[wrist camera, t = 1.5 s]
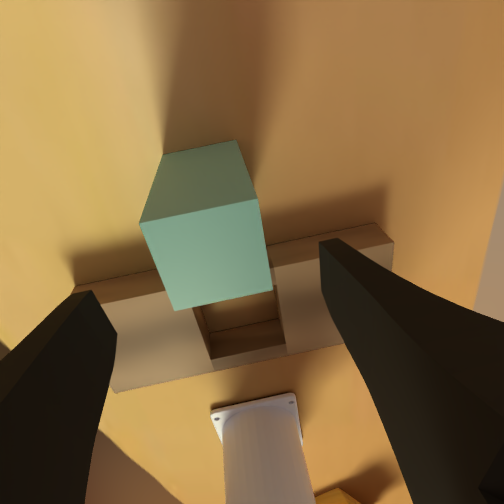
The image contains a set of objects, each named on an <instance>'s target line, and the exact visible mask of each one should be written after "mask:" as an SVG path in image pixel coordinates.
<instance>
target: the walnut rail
mask: <svg viewBox="0 0 504 504" xmlns="http://www.w3.org/2000/svg"><path fill="white" fill-rule="evenodd" d="M333 238H339V239H340V240H342V241H344V242H345V243H347V244H348V245H350V246H351V247H353V248H354V249H356V250H357V251H359V252H360V253H362V254H363V255H365V256H366V257H368V258H370V259H371V260H373V261H374V262H376V263H378V264H379V265H381V266H383V267H384V268H386V269H388V270H389V271H391V272H392V261H393V250H394V242H393V240H392V239H391V238H390V237H389V236H388V235H387V234H386V233H385V232H384V231H383V230H382V229H381V228H380V227H379V226H378V225H377V224H376V223H373V224H368V225H363V226H359V227H354V228H349V229H344V230H340V231H335V232H330V233H326V234H321V235H316V236H311V237H307V238H302V239H297V240H292V241H288V242H283V243H278V244H273V245H269V246H266V250H267V256H268V262H269V268H270V274H271V280H272V286H273V285H274V291H275V298H276V304H277V310H278V316H279V319H275V320H270V321H265V322H261V323H256V324H251V325H247V326H242V327H238V328H233V329H228V330H224V331H219V332H214V333H210V332H209V330H208V327H207V324H206V321H205V318H204V315H203V312H202V309H201V306H196V307H192V308H187V309H182V310H178V311H174V309H173V306H172V304H171V301H170V299H169V297H168V294H167V292H166V289H165V287H164V284H163V282H162V279H161V277H160V274H159V272H158V269H155V270H150V271H145V272H141V273H136V274H131V275H126V276H122V277H117V278H112V279H108V280H103V281H98V282H93V283H89V284H84V285H79V286H75V287H74V289H73V291H72V293H71V294H73V293H78V292H82V291H87V290H92V291H93V293H94V295H95V296H96V298H97V300H98V301H99V303H100V305H101V307H102V308H103V310H104V312H105V313H106V315H107V317H108V318H109V320H110V322H111V324H112V325H113V327H114V329H115V330H116V332H117V334H118V336H117V346H116V355H115V363H114V368H113V372H112V376H111V380H110V384H109V385H110V387H111V388H112V390H113V391H114V393H119V392H123V391H128V390H132V389H137V388H142V387H146V386H151V385H155V384H160V383H165V382H169V381H174V380H178V379H183V378H187V377H192V376H197V375H201V374H206V373H210V372H215V371H220V370H224V369H229V368H233V367H238V366H243V365H247V364H252V363H256V362H261V361H265V360H270V359H275V358H279V357H284V356H288V355H293V354H298V353H302V352H307V351H311V350H316V349H321V348H325V347H330V346H334V345H339V344H343V343H344V341H343V339H342V337H341V335H340V333H339V331H338V330H337V328H336V326H335V324H334V322H333V320H332V318H331V316H330V313H329V310H328V308H327V305H326V303H325V300H324V297H323V294H322V292H321V279H320V261H319V241H324V240H329V239H333Z"/></svg>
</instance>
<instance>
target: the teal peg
mask: <svg viewBox="0 0 504 504" xmlns="http://www.w3.org/2000/svg"><path fill="white" fill-rule="evenodd" d="M139 225H140V228H141V230H142V233H143V235H144V237H145V240H146V242H147V245H148V247H149V250H150V252H151V255H152V257H153V260H154V262H155V265H156V267H157V269H158V272H159V274H160V277H161V279H162V282H163V284H164V287H165V289H166V292H167V294H168V297H169V299H170V301H171V304H172V306H173V309H174V311H178V310H182V309H187V308H192V307H196V306H201V305H206V304H210V303H215V302H220V301H224V300H229V299H234V298H238V297H243V296H248V295H252V294H257V293H262V292H266V291H271V290H273V286H272V280H271V274H270V268H269V262H268V256H267V250H266V244H265V238H264V232H263V227H262V221H261V215H260V209H259V203H258V198H257V195H256V192H255V190H254V187H253V184H252V181H251V179H250V176H249V173H248V171H247V168H246V165H245V162H244V160H243V157H242V154H241V152H240V149H239V146H238V143H237V141H236V140H232V141H227V142H222V143H217V144H212V145H208V146H203V147H198V148H193V149H188V150H183V151H178V152H173V153H168V154H164V155H163V156H162V158H161V161H160V164H159V167H158V170H157V173H156V176H155V178H154V181H153V184H152V187H151V190H150V193H149V196H148V199H147V201H146V204H145V207H144V210H143V213H142V216H141V219H140V221H139Z"/></svg>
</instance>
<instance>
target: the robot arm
mask: <svg viewBox="0 0 504 504" xmlns="http://www.w3.org/2000/svg"><path fill="white" fill-rule="evenodd" d="M319 261H320V279H321V292H322V294H323V297H324V300H325V303H326V305H327V308H328V310H329V313H330V316H331V318H332V320H333V322H334V324H335V326H336V328H337V330H338V331H339V333H340V335H341V337H342V339H343V341H344V343H345V345H346V347H347V349H348V350H349V352H350V354H351V356H352V358H353V360H354V362H355V364H356V365H357V367H358V369H359V371H360V373H361V375H362V377H363V379H364V381H365V383H366V385H367V387H368V389H369V392H370V394H371V396H372V399H373V401H374V404H375V406H376V408H377V411H378V413H379V416H380V418H381V421H382V423H383V426H384V428H385V431H386V433H387V436H388V438H389V441H390V443H391V446H392V449H393V451H394V454H395V456H396V459H397V461H398V464H399V467H400V469H401V472H402V475H403V477H404V480H405V483H406V485H407V488H408V491H409V493H410V496H411V499H412V501H413V504H504V322H501V321H499V320H496V319H493V318H490V317H488V316H485V315H482V314H480V313H477V312H474V311H472V310H469V309H467V308H464V307H462V306H459V305H457V304H455V303H453V302H450V301H448V300H446V299H444V298H441V297H439V296H437V295H435V294H433V293H431V292H428V291H426V290H424V289H422V288H420V287H418V286H417V285H415V284H413V283H411V282H409V281H407V280H405V279H403V278H402V277H400V276H398V275H396V274H394V273H393V272H391V271H389V270H388V269H386V268H384V267H383V266H381V265H379V264H378V263H376V262H374V261H373V260H371V259H370V258H368V257H366V256H365V255H363V254H362V253H360V252H359V251H357V250H356V249H354V248H353V247H351V246H350V245H348V244H347V243H345V242H344V241H342V240H340V239H339V238H333V239H329V240H324V241H319ZM117 336H118V334H117V332H116V330H115V329H114V327H113V325H112V324H111V322H110V320H109V318H108V317H107V315H106V313H105V312H104V310H103V308H102V307H101V305H100V303H99V301H98V300H97V298H96V296H95V295H94V293H93V291H92V290H87V291H82V292H78V293H73V294H71V295H70V296H69V297H67V298H66V299H65V300H64V301H63V302H62V303H61V304H60V305H59V306H57V307H56V308H55V309H54V310H53V311H52V312H51V313H50V314H49V315H48V316H47V317H46V318H45V319H44V320H43V321H42V322H41V323H40V324H39V325H38V326H37V327H36V328H35V329H34V330H33V331H32V332H31V333H30V334H28V335H27V336H26V337H25V338H24V339H23V340H22V341H21V342H20V343H19V344H18V345H17V346H16V347H15V348H14V349H13V350H12V351H11V352H10V353H8V354H7V355H6V356H5V357H4V358H3V359H2V360H1V361H0V504H85V495H86V488H87V482H88V475H89V469H90V463H91V457H92V451H93V446H94V442H95V436H96V433H97V429H98V426H99V422H100V418H101V414H102V410H103V407H104V403H105V399H106V395H107V391H108V388H109V384H110V380H111V376H112V372H113V368H114V363H115V355H116V346H117ZM210 417H211V420H212V422H213V424H214V427H215V429H216V431H217V434H218V436H219V438H220V441H221V443H222V445H223V462H224V481H225V501H226V504H316V501H315V497H314V493H313V489H312V485H311V481H310V477H309V473H308V469H307V465H306V461H305V457H304V453H303V449H302V446H303V441H302V434H301V428H300V421H299V415H298V408H297V402H296V396H295V394H294V393H286V394H281V395H277V396H272V397H268V398H263V399H259V400H254V401H250V402H245V403H241V404H236V405H232V406H227V407H222V408H218V409H214V410H212V411H211V412H210Z"/></svg>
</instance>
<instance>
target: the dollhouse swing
mask: <svg viewBox="0 0 504 504" xmlns="http://www.w3.org/2000/svg"><path fill="white" fill-rule="evenodd" d="M315 501H316V504H361V503H359V502H358V501H356V500H355V499H354V498H352V497H351V496H350V495H348V494H347V493H345V492H344V491H343V490H341V489H339V488H336V489H333V490H331V491H328V492H326V493H324V494H321V495H319V496H317V497H315Z"/></svg>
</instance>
